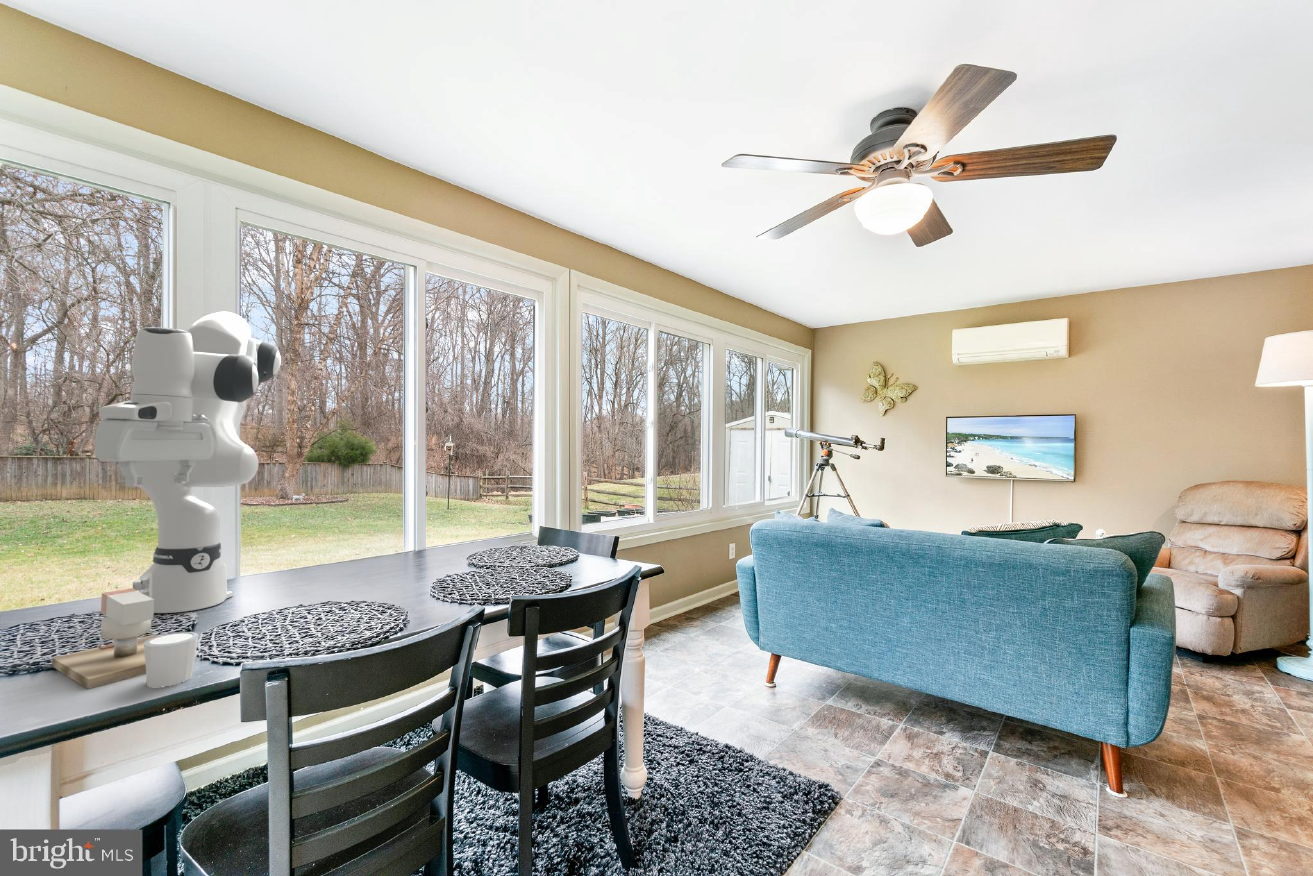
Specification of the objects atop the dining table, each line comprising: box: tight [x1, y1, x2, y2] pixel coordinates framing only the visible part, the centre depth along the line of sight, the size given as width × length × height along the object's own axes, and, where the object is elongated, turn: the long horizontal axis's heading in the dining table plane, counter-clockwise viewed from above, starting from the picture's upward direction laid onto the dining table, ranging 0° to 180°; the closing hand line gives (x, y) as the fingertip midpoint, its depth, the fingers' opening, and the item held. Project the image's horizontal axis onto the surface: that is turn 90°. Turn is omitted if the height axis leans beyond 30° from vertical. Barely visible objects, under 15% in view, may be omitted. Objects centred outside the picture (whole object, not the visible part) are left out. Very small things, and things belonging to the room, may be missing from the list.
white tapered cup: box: [144, 631, 199, 688], centre depth 92 cm, size 7×7×7 cm
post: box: [113, 636, 139, 658], centre depth 98 cm, size 3×3×4 cm
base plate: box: [51, 634, 159, 690], centre depth 98 cm, size 16×14×2 cm
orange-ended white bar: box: [100, 587, 155, 640], centre depth 98 cm, size 6×11×7 cm, turn 58°
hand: (158, 484), depth 104 cm, fingers open, 8 cm apart
